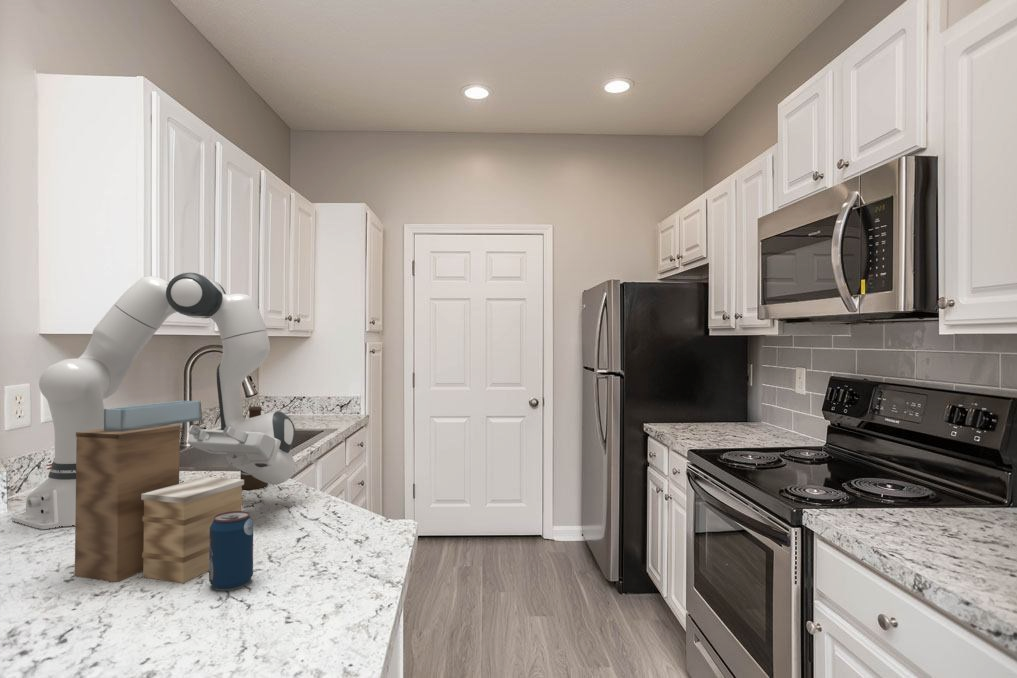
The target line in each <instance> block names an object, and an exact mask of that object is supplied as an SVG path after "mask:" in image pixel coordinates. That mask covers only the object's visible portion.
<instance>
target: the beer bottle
mask: <svg viewBox="0 0 1017 678" xmlns="http://www.w3.org/2000/svg"><path fill="white" fill-rule="evenodd" d="M247 411H248V413H249V414H248V418H252V417H256V416H260V415H262V411H263V408H262V406H260V405H259V406H255V405H254V406H250V407H248V410H247ZM240 479H242V480H244V485H242V490H244V489H245V491H253V490H252V489H258V490H261V489H260V488H263V489H265V488H264V487H266V486H267V485H269V483H265V482H263V481H261V480H258V479H257V478H255V477H253V476H252V475H251V474H249V473H245V472H243V471H241V470H240ZM267 487H268V486H267ZM267 487H266V488H267Z"/></svg>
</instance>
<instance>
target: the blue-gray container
mask: <svg viewBox="0 0 1017 678" xmlns="http://www.w3.org/2000/svg"><path fill="white" fill-rule="evenodd" d="M201 407H202V401H200V400H198V401H197V400H178V401H170V402H169V401H168V402H159V403H151V404H141V405H131V406H130V405H129V406H121V407H113V408H104V431H121V432H123V431H130V430H137V429H143V428H150V427H157V426H164V425H178V424H182V423H190V422H196V421H201V420H202V419H201V417H202V414H201V413H202V408H201Z"/></svg>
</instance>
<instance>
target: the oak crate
mask: <svg viewBox="0 0 1017 678" xmlns="http://www.w3.org/2000/svg"><path fill="white" fill-rule="evenodd" d="M242 485H244V480H242V479H241V478H229V477H226V478H225V477H212V476H202V477H199V478H195V479H192V480H188V481H184V482H181V483H180V482H179V484H177V485H173V486H169V487H165V488H162V489H158V490H154V491H151V492H147V493H143V494H141V500H144V516H142V521H143V522H144V550H143V552H142V558H143V572H142V573H143V575H142V576H143V577H142V578H145V579H153V580H161V581H167V582H173V583H180V584H181V583H182V584H185V583H186V582H188V581H190V580H192V578H193V579H195V578H196V577H199V576H202V575H203V574H205V573H208V572H209V541H210V526H211V524H212V522H213V521H214V516H216V515H218V514H221V513H225V512H230V511H243V510H242V506H243V504H244V502H243V501H244V500H243V499H242V498H243V495H242V494H243V491H242V490H243V489H242Z"/></svg>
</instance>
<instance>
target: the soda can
mask: <svg viewBox="0 0 1017 678" xmlns="http://www.w3.org/2000/svg"><path fill="white" fill-rule="evenodd" d="M250 515H251V514H250V512H249V511H246V510H242V511H230V512H225V513H221V514H218V515H216V516H214V521H213V522H212V524H211V526H210V541H209V571H208V582H209V584H210V585H211V587H212V588H213V589H214V590H215V591H221V592H225V591H235V590H238V589H242V588H243V587H245V586H247V585H248V584H249V582H250V580H251V579H252V577H253V575H254V521H253V519H252V517H251V516H250Z"/></svg>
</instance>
